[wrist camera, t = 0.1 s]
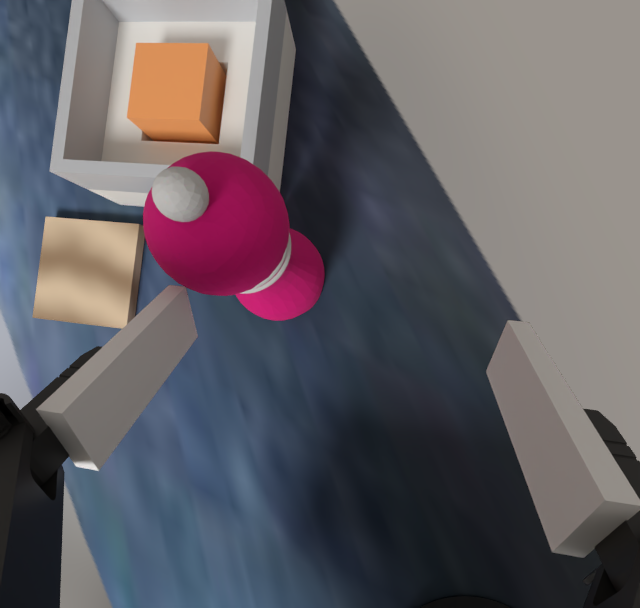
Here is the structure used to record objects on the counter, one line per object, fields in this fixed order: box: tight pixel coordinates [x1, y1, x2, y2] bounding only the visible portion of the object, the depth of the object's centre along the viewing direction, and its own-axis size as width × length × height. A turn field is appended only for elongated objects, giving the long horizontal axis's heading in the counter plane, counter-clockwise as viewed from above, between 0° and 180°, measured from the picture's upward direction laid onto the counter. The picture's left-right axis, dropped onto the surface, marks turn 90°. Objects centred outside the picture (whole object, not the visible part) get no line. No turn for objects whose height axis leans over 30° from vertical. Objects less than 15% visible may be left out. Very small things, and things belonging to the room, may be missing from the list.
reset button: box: [127, 43, 227, 144], centre depth 27 cm, size 6×6×4 cm
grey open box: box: [50, 0, 296, 206], centre depth 28 cm, size 16×16×8 cm
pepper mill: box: [143, 151, 325, 320], centre depth 20 cm, size 7×7×20 cm
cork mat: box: [33, 217, 145, 329], centre depth 32 cm, size 10×10×1 cm
